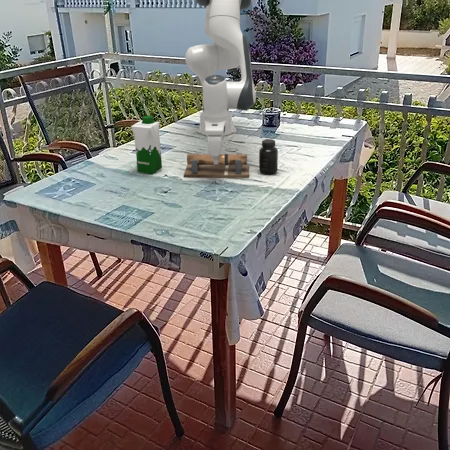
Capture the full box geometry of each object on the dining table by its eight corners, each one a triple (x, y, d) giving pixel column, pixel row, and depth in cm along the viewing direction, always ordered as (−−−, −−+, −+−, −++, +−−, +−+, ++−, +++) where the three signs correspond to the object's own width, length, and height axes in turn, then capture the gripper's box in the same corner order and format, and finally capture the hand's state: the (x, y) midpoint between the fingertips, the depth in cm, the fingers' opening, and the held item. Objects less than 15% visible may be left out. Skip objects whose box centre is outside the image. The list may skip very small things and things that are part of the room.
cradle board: (187, 167, 184) (187, 164, 183) (249, 167, 182) (249, 165, 182) (183, 177, 175) (183, 174, 175) (249, 177, 174) (249, 175, 173)
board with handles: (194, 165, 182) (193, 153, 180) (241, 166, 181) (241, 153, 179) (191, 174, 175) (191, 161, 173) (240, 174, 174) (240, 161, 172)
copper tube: (187, 165, 176) (186, 154, 175) (188, 164, 180) (188, 153, 179) (246, 166, 175) (246, 154, 173) (246, 164, 179) (247, 153, 177)
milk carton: (165, 167, 184) (161, 116, 175) (154, 175, 177) (149, 122, 168) (145, 164, 187) (140, 114, 178) (133, 173, 180) (127, 120, 170)
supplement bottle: (267, 167, 183) (268, 136, 177) (281, 171, 178) (282, 140, 173) (255, 172, 179) (255, 141, 173) (269, 176, 174) (269, 145, 169)
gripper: (209, 115, 179) (210, 150, 186) (204, 131, 161) (205, 170, 168) (226, 115, 179) (227, 150, 185) (223, 131, 161) (223, 170, 167)
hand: (216, 160), depth 176 cm, fingers open, 6 cm apart
